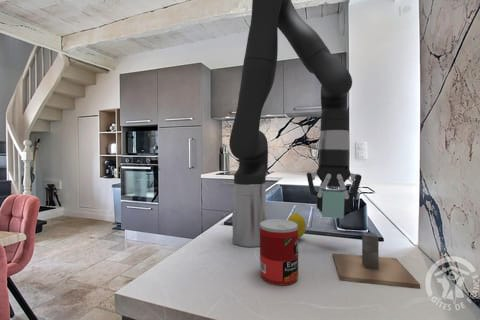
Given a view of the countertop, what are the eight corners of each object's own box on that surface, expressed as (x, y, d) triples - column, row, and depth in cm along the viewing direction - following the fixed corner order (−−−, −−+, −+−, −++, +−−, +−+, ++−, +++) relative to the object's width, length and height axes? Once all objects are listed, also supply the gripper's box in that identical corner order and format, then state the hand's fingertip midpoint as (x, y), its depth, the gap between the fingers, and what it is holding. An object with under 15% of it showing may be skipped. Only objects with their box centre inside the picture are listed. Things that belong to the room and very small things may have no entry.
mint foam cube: (322, 216, 64) (323, 191, 64) (320, 212, 69) (321, 188, 69) (343, 218, 63) (344, 192, 62) (340, 213, 68) (341, 189, 68)
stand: (339, 280, 49) (339, 241, 49) (332, 256, 61) (332, 224, 61) (420, 288, 46) (420, 246, 46) (396, 261, 57) (396, 228, 57)
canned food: (290, 290, 46) (290, 231, 46) (253, 279, 50) (252, 225, 50) (303, 273, 52) (303, 221, 52) (269, 265, 56) (268, 217, 56)
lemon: (306, 243, 70) (306, 215, 70) (286, 241, 72) (286, 214, 71) (305, 236, 76) (305, 210, 76) (287, 235, 77) (286, 210, 77)
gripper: (306, 147, 63) (304, 213, 64) (367, 148, 60) (364, 217, 60) (305, 148, 71) (303, 206, 71) (359, 149, 67) (357, 210, 68)
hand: (331, 211), depth 66 cm, fingers closed on mint foam cube, 5 cm apart
